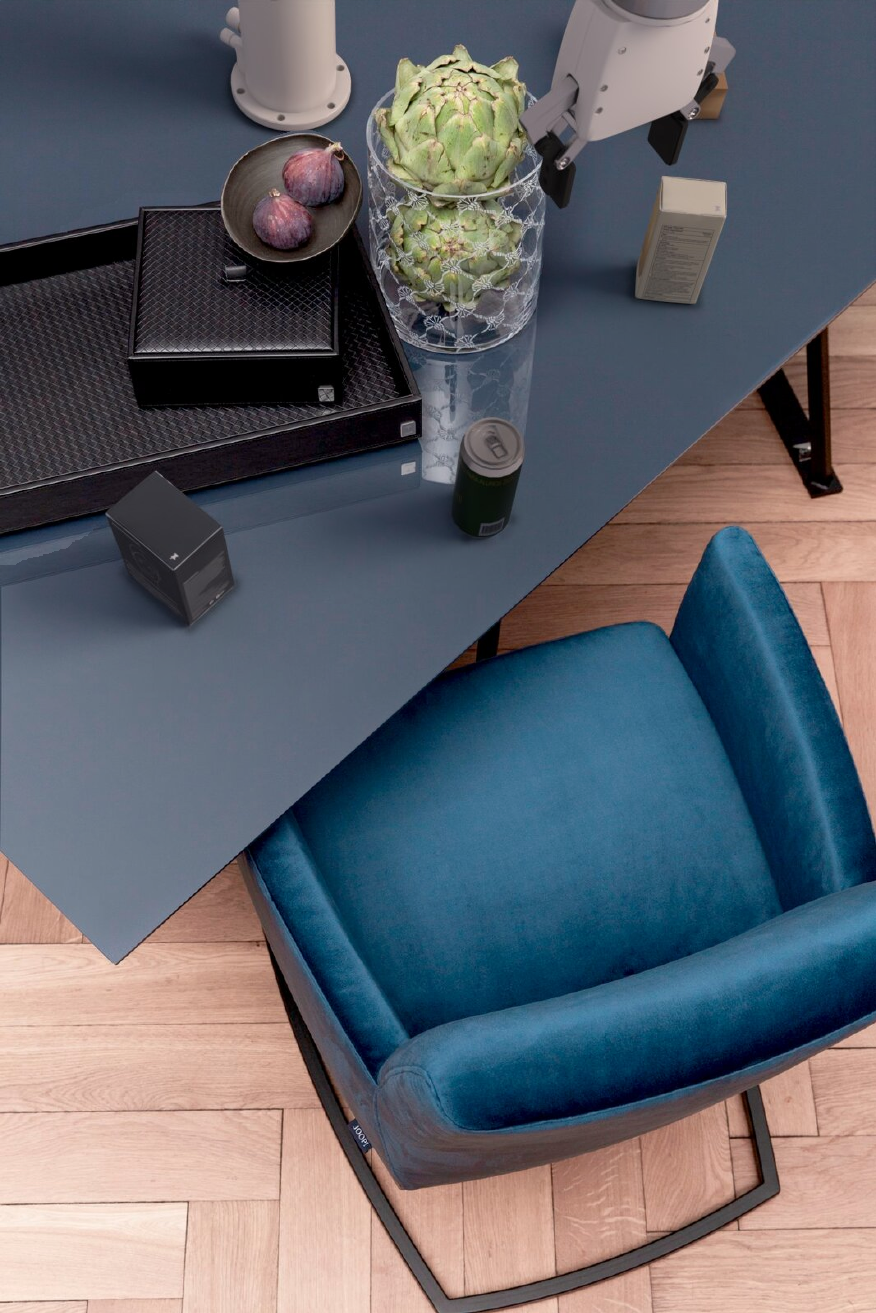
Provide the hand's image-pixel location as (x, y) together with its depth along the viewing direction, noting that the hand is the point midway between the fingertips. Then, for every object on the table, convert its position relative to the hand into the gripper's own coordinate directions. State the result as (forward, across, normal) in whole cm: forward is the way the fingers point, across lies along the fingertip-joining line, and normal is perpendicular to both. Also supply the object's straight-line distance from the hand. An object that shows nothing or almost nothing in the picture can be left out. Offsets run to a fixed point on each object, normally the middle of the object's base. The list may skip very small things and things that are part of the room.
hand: (608, 173), depth 91 cm
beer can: (+27, +14, +9) cm, 31 cm away
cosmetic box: (+27, -16, -6) cm, 32 cm away
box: (+27, +40, +3) cm, 48 cm away
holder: (+26, -31, -30) cm, 51 cm away
